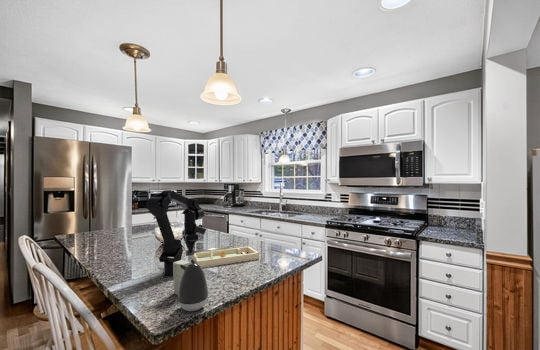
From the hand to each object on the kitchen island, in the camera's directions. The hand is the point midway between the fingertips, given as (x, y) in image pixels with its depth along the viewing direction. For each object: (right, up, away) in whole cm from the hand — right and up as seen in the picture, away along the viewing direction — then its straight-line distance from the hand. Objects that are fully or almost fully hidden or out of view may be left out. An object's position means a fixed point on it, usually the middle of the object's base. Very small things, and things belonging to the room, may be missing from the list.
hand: (189, 250), depth 135 cm
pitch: (+18, -7, +7) cm, 21 cm away
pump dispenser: (+16, -6, -48) cm, 51 cm away
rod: (+9, -6, +4) cm, 11 cm away
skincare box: (+9, -6, -36) cm, 37 cm away
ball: (+16, -4, +8) cm, 19 cm away
